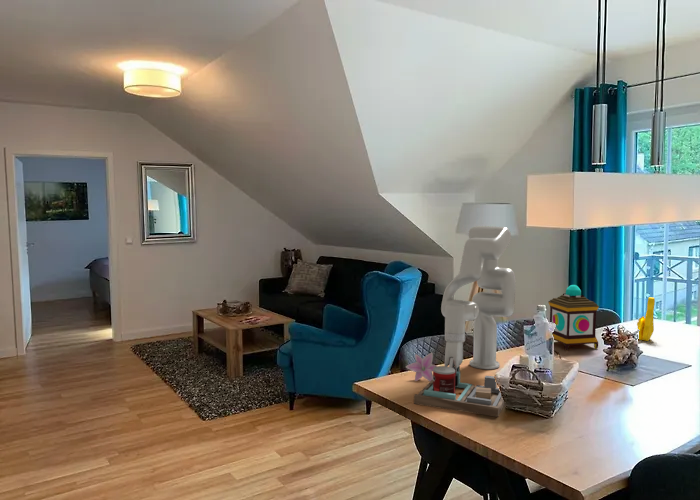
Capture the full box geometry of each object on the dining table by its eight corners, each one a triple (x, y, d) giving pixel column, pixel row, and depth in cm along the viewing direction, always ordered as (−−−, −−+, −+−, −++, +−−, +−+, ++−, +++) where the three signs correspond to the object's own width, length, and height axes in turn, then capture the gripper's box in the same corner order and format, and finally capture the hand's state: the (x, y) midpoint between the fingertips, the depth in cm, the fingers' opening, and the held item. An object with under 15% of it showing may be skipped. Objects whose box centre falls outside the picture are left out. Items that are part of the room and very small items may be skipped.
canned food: (441, 394, 206) (441, 364, 205) (459, 399, 201) (459, 369, 200) (428, 399, 201) (428, 369, 200) (446, 405, 195) (447, 374, 194)
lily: (402, 380, 226) (403, 363, 220) (417, 362, 234) (419, 346, 228) (428, 394, 220) (430, 377, 215) (442, 376, 228) (445, 359, 222)
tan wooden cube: (476, 400, 200) (476, 387, 199) (490, 402, 198) (491, 388, 198) (475, 405, 195) (475, 391, 194) (490, 407, 194) (490, 393, 193)
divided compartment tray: (431, 384, 217) (432, 377, 216) (508, 395, 205) (509, 387, 204) (413, 403, 197) (414, 395, 196) (497, 416, 185) (498, 408, 184)
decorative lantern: (602, 349, 267) (605, 287, 264) (565, 352, 263) (567, 288, 260) (577, 339, 287) (579, 281, 284) (541, 341, 282) (543, 282, 280)
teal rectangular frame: (437, 382, 218) (438, 368, 218) (472, 387, 213) (472, 373, 212) (420, 401, 198) (420, 386, 198) (458, 407, 193) (458, 391, 192)
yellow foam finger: (639, 335, 295) (641, 293, 293) (656, 337, 290) (658, 295, 288) (632, 342, 281) (633, 298, 279) (649, 344, 276) (651, 300, 274)
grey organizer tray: (476, 388, 212) (477, 374, 211) (505, 392, 207) (505, 377, 207) (463, 408, 191) (463, 392, 191) (494, 413, 187) (494, 397, 187)
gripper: (450, 331, 221) (449, 376, 223) (439, 340, 207) (438, 389, 209) (469, 332, 218) (468, 379, 220) (459, 342, 204) (458, 392, 205)
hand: (454, 383), depth 214 cm, fingers closed on teal rectangular frame, 2 cm apart
